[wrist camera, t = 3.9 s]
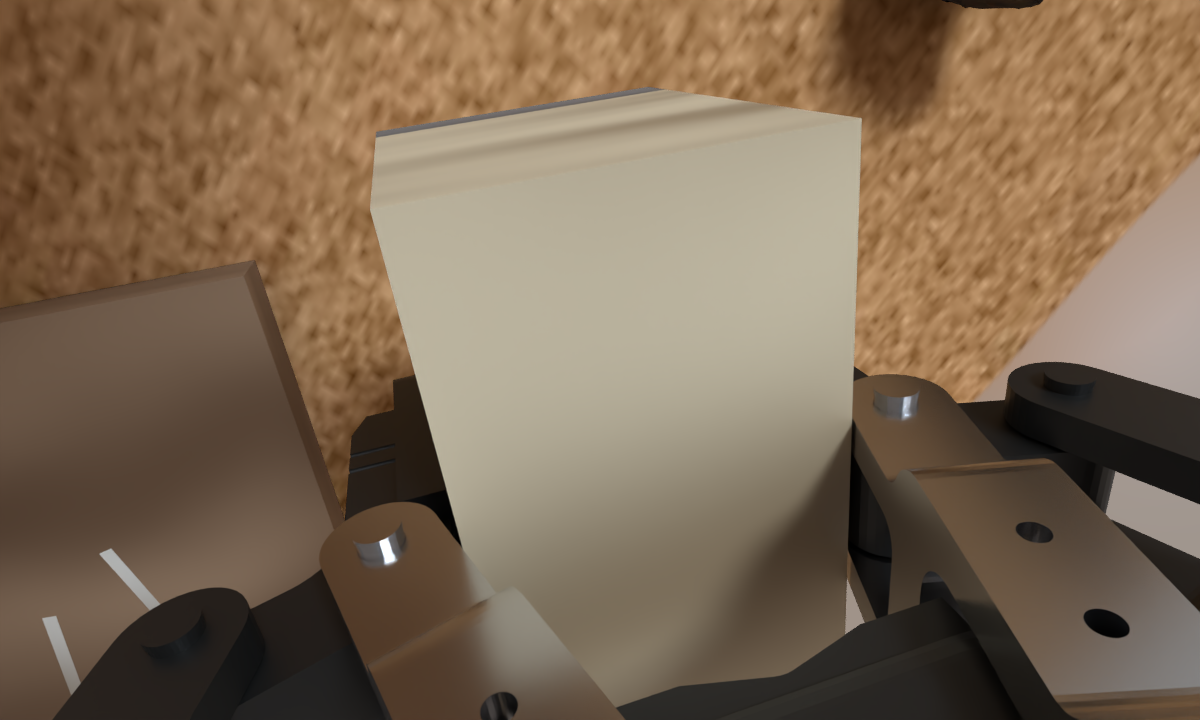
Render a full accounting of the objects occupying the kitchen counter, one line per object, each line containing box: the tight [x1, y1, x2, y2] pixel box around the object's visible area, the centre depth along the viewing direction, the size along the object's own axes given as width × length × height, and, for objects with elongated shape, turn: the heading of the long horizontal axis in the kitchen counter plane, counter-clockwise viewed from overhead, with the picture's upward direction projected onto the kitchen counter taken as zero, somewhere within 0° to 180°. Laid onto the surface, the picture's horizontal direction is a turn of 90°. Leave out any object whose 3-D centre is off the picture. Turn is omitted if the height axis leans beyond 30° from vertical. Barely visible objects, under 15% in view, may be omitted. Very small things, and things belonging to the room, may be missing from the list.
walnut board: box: [0, 260, 345, 720], centre depth 19 cm, size 20×16×2 cm
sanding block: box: [370, 87, 862, 708], centre depth 11 cm, size 9×4×6 cm, turn 8°
